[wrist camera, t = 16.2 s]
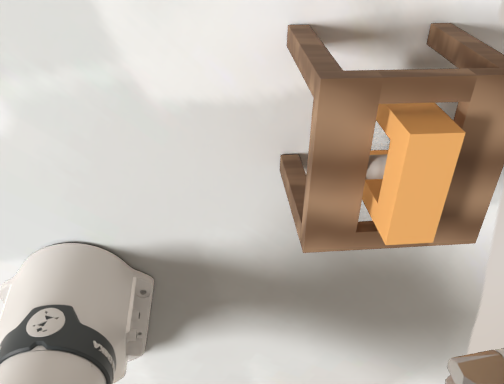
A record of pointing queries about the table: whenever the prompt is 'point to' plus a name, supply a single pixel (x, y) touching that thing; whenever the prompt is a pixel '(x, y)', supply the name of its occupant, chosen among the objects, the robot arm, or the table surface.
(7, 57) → the table surface
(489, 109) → the brown stool
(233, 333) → the table surface
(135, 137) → the table surface
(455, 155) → the orange arch brick
